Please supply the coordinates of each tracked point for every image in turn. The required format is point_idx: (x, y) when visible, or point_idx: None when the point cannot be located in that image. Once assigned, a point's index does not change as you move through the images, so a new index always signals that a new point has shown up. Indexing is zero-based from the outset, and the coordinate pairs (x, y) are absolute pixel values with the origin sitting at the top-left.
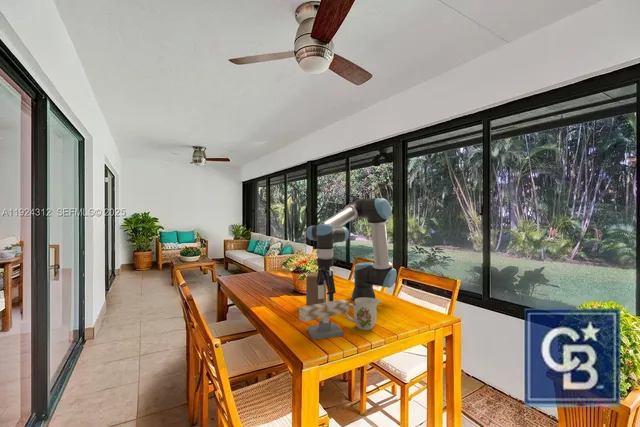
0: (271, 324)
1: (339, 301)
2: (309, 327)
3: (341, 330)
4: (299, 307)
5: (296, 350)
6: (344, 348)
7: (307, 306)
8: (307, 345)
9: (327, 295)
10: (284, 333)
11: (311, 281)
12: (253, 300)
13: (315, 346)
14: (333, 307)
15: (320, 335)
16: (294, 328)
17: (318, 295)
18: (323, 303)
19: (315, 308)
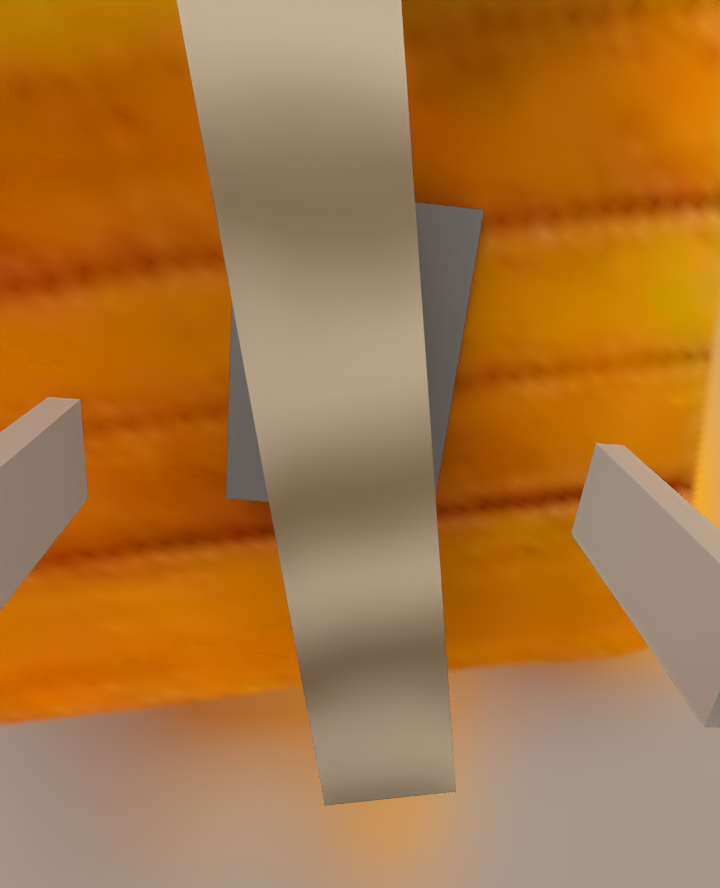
0: (3, 694)
1: (300, 137)
2: (251, 488)
3: (455, 214)
4: (333, 803)
5: (522, 648)
6: (693, 326)
7: (335, 718)
8: (491, 565)
9: (690, 689)
10: (218, 650)
11: None
12: None
13: (536, 520)
14: (624, 451)
15: (441, 450)
16: (142, 561)
17: (54, 533)
18: (298, 481)
19: (445, 649)
